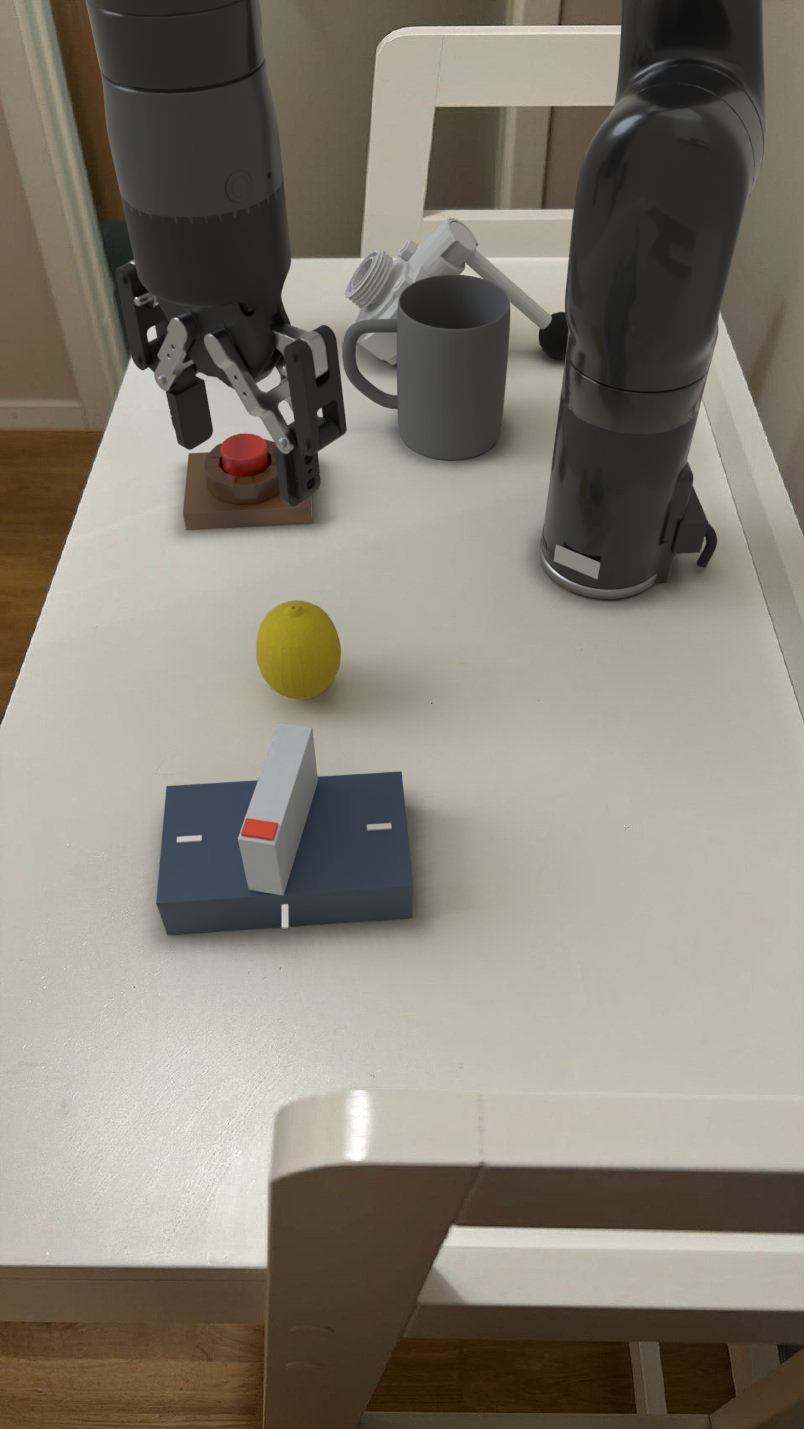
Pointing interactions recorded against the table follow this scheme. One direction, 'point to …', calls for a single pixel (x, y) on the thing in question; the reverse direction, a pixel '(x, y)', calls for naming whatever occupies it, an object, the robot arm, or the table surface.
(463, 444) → the mug
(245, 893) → the blue dial base
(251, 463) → the button
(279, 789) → the white slab
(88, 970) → the table surface
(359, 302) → the valve
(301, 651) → the lemon
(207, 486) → the button block
